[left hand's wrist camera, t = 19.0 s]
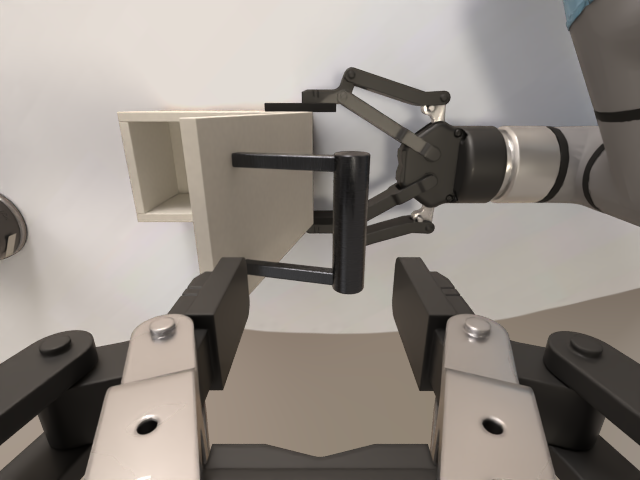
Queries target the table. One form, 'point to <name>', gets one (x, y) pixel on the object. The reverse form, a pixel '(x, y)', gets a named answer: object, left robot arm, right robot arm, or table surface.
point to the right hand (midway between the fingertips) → (269, 165)
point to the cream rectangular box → (160, 162)
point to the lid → (272, 196)
